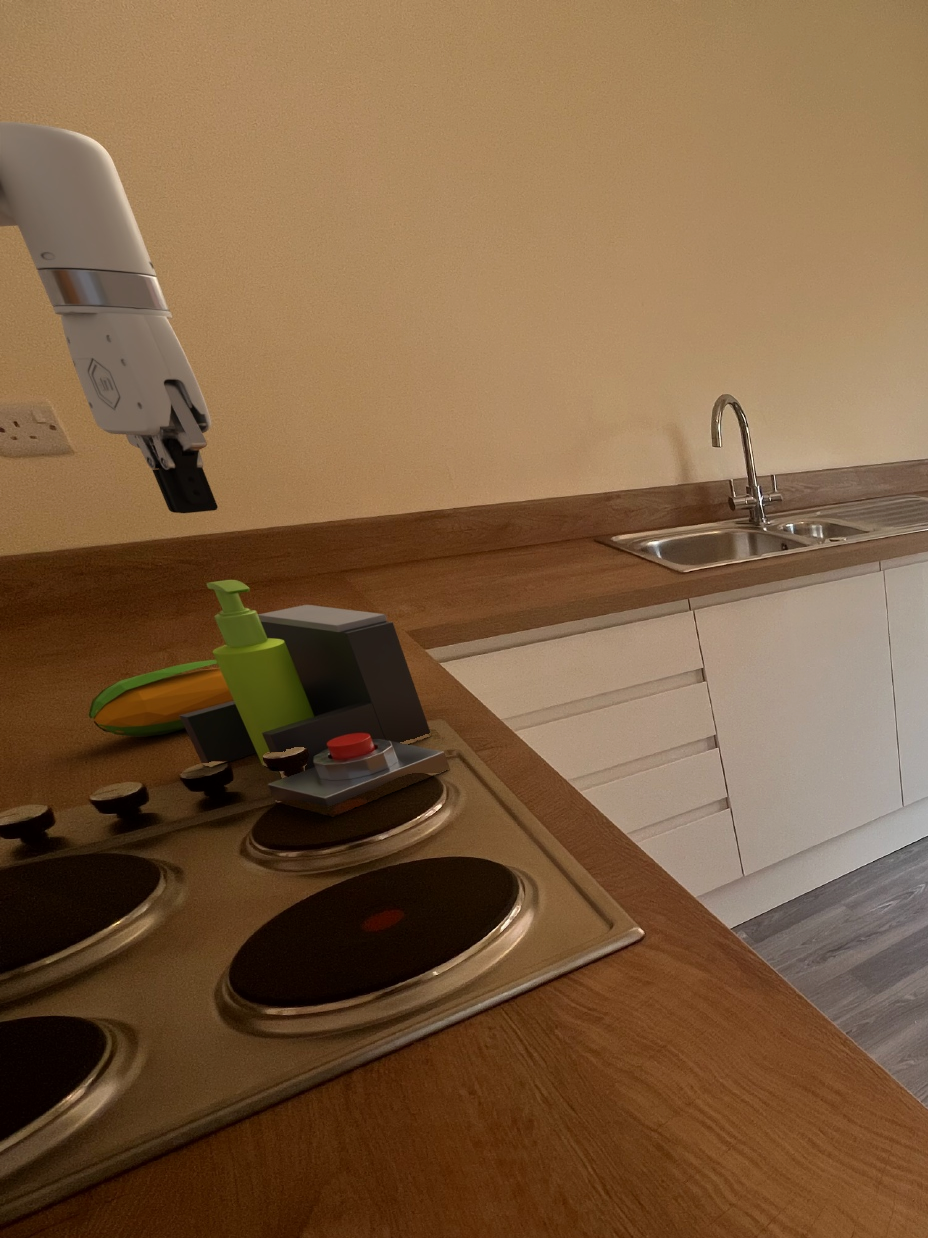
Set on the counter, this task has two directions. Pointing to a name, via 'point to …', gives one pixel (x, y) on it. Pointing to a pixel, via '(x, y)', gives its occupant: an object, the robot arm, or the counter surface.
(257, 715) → the soap dispenser
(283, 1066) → the counter surface
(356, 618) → the coffee maker
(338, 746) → the button
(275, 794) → the button block
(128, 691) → the corn
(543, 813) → the counter surface
